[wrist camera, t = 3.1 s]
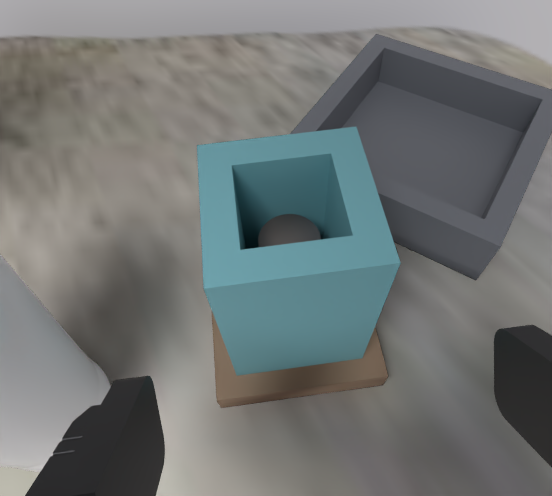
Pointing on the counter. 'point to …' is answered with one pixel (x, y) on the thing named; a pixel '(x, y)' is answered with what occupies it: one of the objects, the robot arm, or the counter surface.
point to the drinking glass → (38, 377)
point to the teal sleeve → (293, 249)
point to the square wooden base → (300, 378)
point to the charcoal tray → (440, 146)
